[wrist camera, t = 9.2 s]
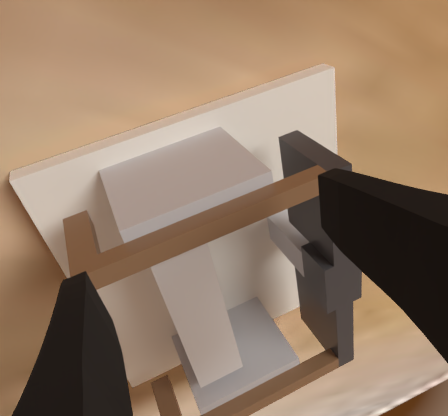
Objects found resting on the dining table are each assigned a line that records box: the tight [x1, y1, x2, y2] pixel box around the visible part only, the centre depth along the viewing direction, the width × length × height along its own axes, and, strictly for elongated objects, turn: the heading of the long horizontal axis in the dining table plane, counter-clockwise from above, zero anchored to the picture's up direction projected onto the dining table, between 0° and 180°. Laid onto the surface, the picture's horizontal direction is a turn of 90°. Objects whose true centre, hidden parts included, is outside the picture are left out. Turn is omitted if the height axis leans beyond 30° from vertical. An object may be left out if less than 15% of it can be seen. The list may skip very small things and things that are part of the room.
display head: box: [9, 63, 337, 415], centre depth 21 cm, size 16×16×6 cm
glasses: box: [63, 130, 362, 416], centre depth 20 cm, size 12×13×4 cm
